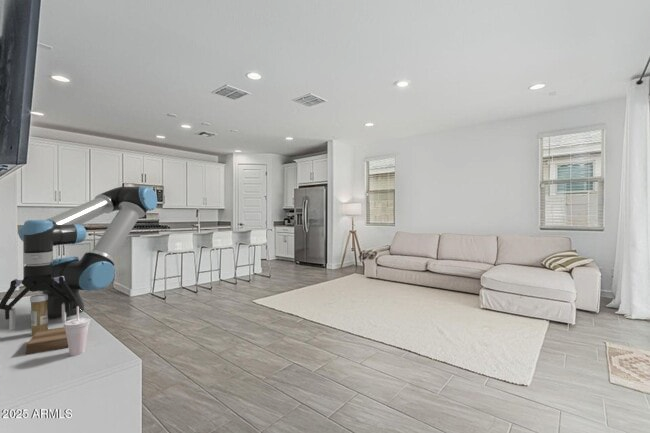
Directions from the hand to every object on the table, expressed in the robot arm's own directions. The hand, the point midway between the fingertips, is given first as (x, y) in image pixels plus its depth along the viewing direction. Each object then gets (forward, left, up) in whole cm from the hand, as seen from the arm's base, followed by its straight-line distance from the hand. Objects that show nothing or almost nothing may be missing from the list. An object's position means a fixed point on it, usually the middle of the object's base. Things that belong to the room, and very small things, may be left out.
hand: (39, 324), depth 109 cm
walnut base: (+13, +7, -3) cm, 15 cm away
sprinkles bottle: (0, 0, -3) cm, 3 cm away
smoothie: (+25, +14, -3) cm, 29 cm away
